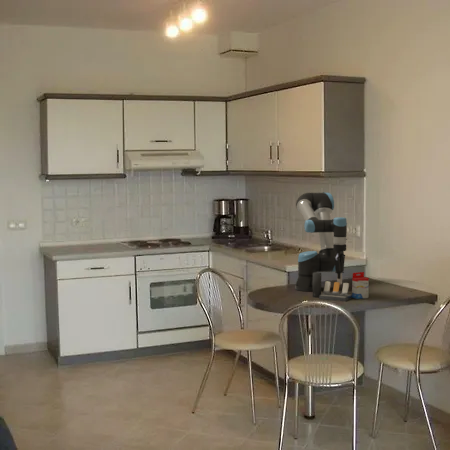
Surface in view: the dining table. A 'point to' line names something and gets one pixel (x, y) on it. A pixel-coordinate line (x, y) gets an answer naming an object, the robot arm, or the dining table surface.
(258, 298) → the dining table surface
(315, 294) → the post
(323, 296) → the panel
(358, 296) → the ink box
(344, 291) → the paddle right
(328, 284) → the paddle left
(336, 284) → the block
